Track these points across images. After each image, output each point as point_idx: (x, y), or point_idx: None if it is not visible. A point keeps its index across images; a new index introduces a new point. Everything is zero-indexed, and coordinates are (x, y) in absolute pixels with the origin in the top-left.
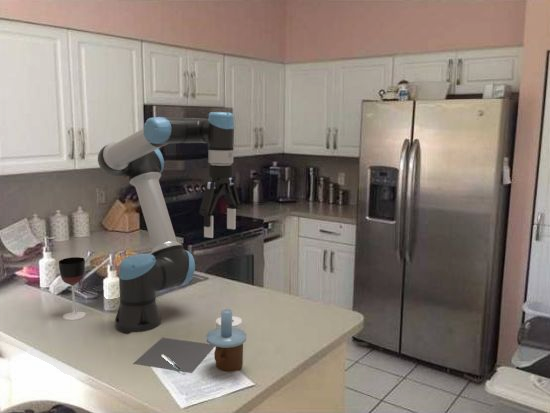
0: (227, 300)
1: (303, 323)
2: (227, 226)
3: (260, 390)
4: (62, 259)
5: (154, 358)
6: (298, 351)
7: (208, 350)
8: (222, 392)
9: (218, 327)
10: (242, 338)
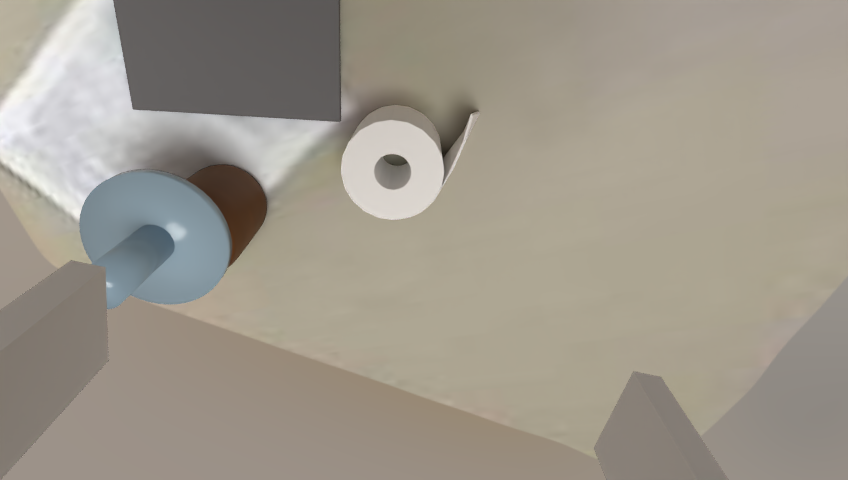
0: (812, 23)
1: (583, 340)
2: (640, 395)
3: (151, 302)
4: None
5: None
6: (386, 351)
7: (292, 110)
8: None
9: (350, 139)
10: (157, 296)
